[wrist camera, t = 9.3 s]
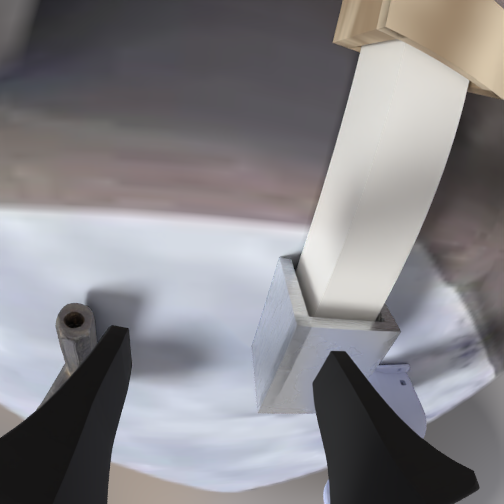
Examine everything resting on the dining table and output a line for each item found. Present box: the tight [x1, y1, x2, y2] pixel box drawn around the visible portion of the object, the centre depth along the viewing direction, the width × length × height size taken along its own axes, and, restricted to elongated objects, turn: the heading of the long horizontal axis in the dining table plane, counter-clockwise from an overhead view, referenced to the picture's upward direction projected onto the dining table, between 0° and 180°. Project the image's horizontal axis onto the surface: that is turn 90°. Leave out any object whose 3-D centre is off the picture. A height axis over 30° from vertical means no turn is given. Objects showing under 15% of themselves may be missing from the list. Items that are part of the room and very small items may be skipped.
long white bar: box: [295, 39, 469, 321], centre depth 15 cm, size 4×17×5 cm, turn 168°
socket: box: [333, 0, 504, 100], centre depth 10 cm, size 7×5×6 cm
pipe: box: [37, 303, 97, 409], centre depth 21 cm, size 6×13×8 cm, turn 163°
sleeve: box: [252, 257, 401, 414], centre depth 21 cm, size 7×9×6 cm
